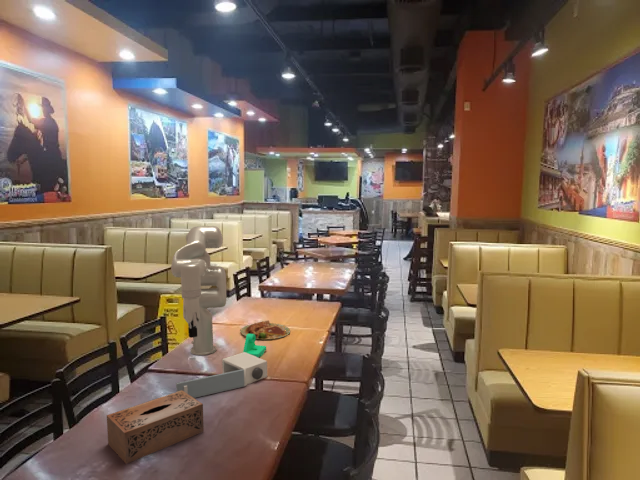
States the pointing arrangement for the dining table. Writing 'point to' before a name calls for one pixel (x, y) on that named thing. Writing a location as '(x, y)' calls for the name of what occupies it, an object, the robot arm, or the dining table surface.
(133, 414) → the tissue box cover
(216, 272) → the robot arm
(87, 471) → the dining table surface
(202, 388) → the side door
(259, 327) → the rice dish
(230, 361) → the block
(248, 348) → the camera mount
